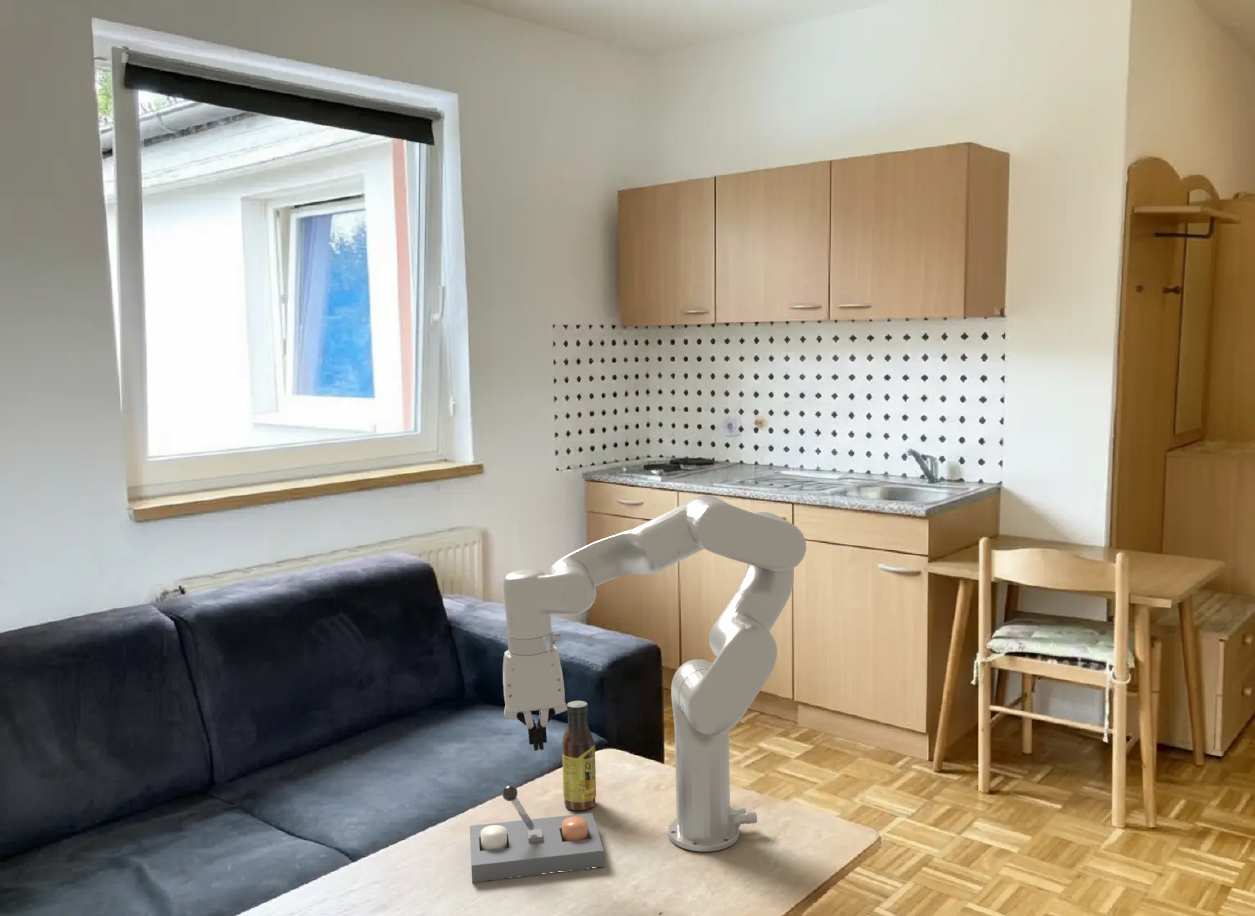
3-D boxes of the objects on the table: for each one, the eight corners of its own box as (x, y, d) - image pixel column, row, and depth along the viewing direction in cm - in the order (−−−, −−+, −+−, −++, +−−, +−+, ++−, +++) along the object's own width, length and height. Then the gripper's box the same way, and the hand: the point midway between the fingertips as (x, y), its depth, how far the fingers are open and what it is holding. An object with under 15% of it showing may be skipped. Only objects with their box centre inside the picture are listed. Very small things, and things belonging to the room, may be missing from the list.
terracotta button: (586, 834, 177) (585, 815, 177) (589, 846, 173) (588, 826, 173) (561, 836, 177) (560, 818, 176) (564, 849, 172) (563, 829, 172)
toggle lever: (538, 822, 175) (512, 779, 173) (540, 829, 172) (513, 786, 170) (525, 830, 174) (499, 787, 173) (526, 837, 172) (499, 794, 170)
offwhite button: (506, 843, 175) (505, 823, 175) (508, 855, 171) (507, 835, 170) (481, 845, 174) (480, 826, 174) (481, 858, 170) (481, 838, 170)
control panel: (592, 828, 183) (592, 808, 182) (604, 867, 169) (603, 845, 168) (470, 841, 179) (469, 821, 178) (472, 882, 165) (471, 860, 165)
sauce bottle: (592, 813, 188) (588, 711, 186) (560, 811, 190) (556, 709, 187) (600, 798, 195) (596, 699, 192) (568, 796, 196) (565, 697, 194)
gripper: (571, 632, 175) (578, 733, 177) (485, 642, 172) (493, 744, 174) (576, 644, 167) (584, 750, 169) (486, 655, 165) (495, 761, 167)
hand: (538, 747), depth 172 cm, fingers closed
